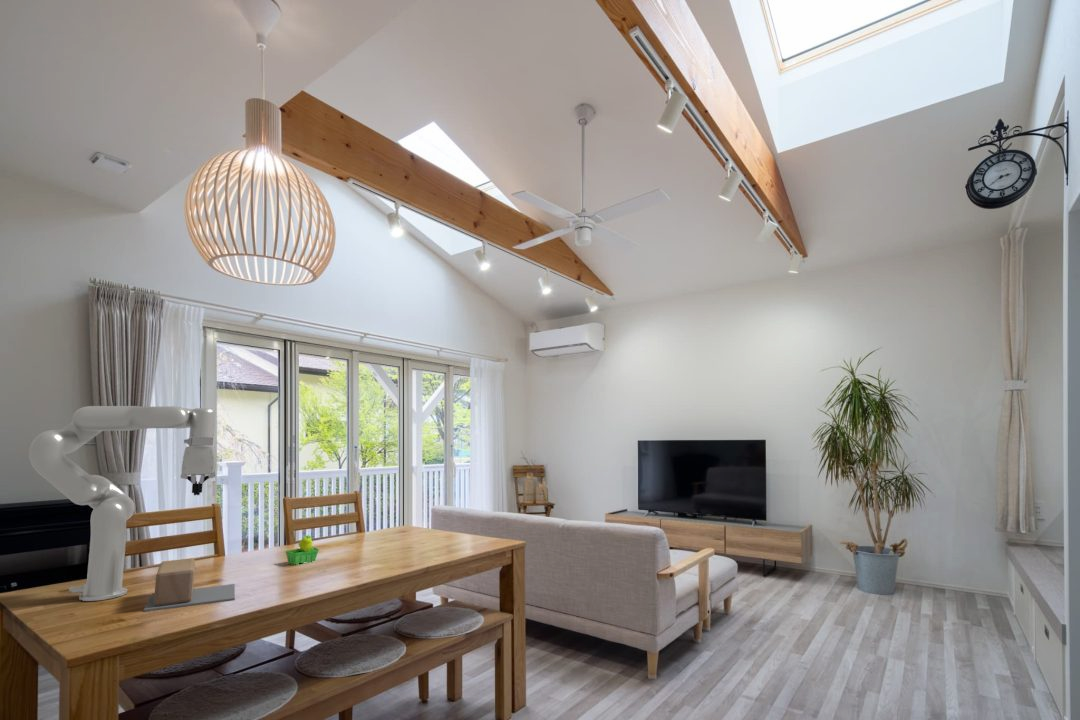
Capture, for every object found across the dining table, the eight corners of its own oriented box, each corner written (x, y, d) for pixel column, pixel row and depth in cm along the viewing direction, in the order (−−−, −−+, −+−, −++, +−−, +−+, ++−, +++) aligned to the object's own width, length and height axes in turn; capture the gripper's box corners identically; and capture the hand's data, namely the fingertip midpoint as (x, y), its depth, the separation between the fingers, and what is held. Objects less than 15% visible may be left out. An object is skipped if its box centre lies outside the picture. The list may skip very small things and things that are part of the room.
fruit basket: (309, 559, 239) (311, 531, 241) (321, 561, 234) (322, 533, 235) (283, 563, 231) (285, 535, 232) (294, 566, 225) (296, 537, 227)
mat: (143, 611, 168) (143, 609, 168) (151, 595, 186) (152, 593, 186) (234, 600, 180) (234, 598, 180) (234, 585, 197) (234, 583, 197)
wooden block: (158, 592, 187) (153, 607, 170) (160, 560, 189) (156, 573, 172) (193, 587, 192) (191, 602, 175) (195, 557, 194) (194, 569, 177)
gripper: (175, 442, 195) (170, 497, 192) (224, 442, 201) (220, 495, 199) (177, 442, 201) (173, 494, 199) (225, 442, 208) (221, 493, 206)
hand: (196, 494), depth 199 cm, fingers closed
